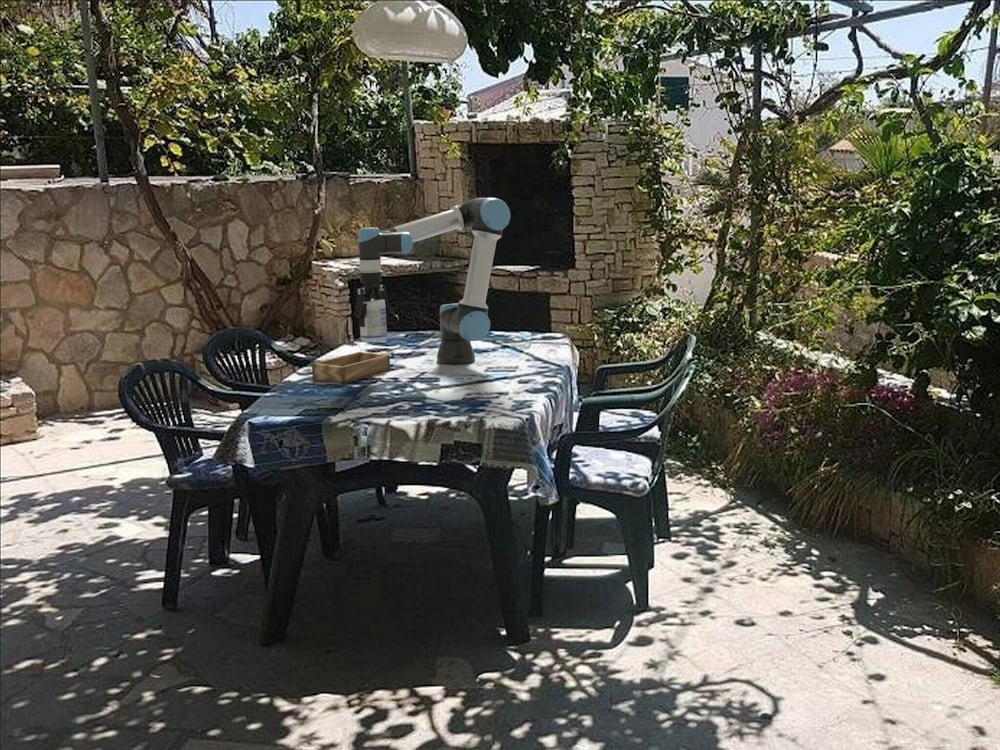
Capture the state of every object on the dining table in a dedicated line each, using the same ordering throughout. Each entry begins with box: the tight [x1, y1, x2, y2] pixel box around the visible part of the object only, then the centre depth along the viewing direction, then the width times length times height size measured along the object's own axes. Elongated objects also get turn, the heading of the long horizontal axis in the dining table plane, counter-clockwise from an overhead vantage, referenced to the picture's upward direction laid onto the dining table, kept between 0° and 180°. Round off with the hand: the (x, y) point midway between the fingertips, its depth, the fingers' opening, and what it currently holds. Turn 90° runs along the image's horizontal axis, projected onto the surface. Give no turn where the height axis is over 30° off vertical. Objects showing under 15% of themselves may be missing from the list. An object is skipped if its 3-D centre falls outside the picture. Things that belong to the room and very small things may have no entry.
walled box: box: [311, 351, 391, 385], centre depth 328 cm, size 15×26×6 cm, turn 147°
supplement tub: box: [359, 298, 388, 343], centre depth 318 cm, size 10×10×15 cm
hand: (373, 333), depth 319 cm, fingers closed on supplement tub, 9 cm apart
